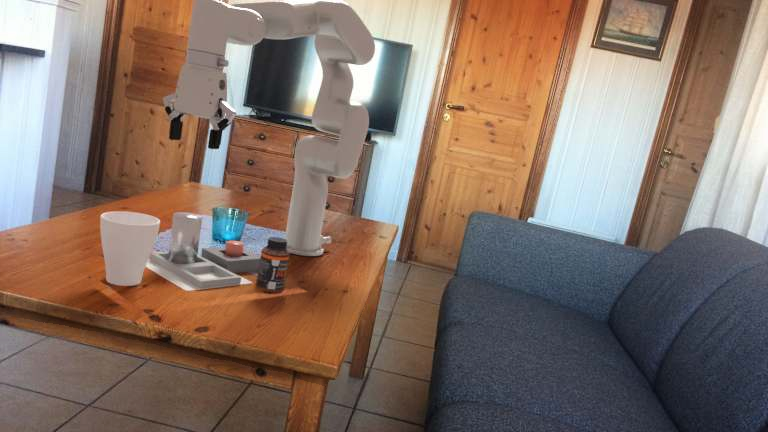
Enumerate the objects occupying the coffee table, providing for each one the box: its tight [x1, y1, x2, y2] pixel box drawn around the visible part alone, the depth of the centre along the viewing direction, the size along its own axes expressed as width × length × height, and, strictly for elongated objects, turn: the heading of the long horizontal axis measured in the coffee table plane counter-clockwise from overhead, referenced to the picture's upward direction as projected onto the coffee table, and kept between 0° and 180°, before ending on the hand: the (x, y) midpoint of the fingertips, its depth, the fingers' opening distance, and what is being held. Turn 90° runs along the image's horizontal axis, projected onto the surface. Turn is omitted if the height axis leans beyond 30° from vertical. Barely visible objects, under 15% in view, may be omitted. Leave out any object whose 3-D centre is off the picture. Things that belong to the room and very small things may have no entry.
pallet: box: [145, 251, 254, 292], centre depth 131 cm, size 16×20×3 cm
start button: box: [224, 240, 245, 257], centre depth 140 cm, size 4×4×3 cm
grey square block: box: [200, 246, 261, 274], centre depth 141 cm, size 10×10×4 cm
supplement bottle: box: [256, 236, 291, 295], centre depth 131 cm, size 6×6×11 cm
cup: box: [99, 210, 161, 290], centre depth 117 cm, size 10×10×14 cm
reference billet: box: [168, 211, 204, 264], centre depth 133 cm, size 6×6×11 cm
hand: (193, 144), depth 130 cm, fingers open, 9 cm apart
